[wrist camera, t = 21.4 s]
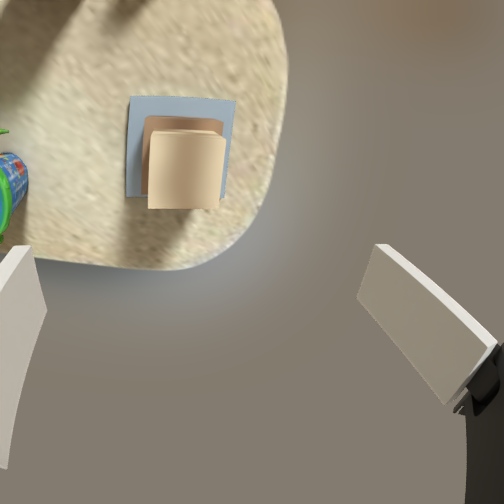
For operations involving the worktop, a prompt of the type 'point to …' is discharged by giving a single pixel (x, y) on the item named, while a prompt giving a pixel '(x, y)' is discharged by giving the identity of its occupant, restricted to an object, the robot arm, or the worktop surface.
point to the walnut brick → (171, 123)
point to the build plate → (171, 107)
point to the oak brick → (185, 169)
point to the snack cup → (10, 185)
